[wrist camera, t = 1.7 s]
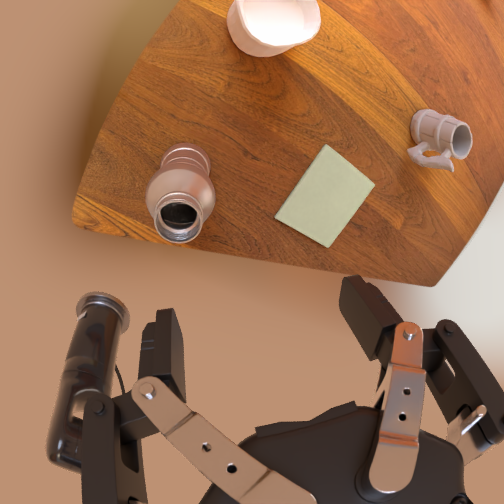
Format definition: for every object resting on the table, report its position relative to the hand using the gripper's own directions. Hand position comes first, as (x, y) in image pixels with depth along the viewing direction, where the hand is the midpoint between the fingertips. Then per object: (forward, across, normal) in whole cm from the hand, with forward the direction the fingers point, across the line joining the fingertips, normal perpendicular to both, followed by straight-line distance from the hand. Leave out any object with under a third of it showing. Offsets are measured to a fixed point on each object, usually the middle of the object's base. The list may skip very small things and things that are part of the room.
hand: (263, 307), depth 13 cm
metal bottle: (+30, -4, 0) cm, 30 cm away
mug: (+30, +36, +3) cm, 47 cm away
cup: (+30, +8, +19) cm, 36 cm away
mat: (+30, +17, -8) cm, 36 cm away
